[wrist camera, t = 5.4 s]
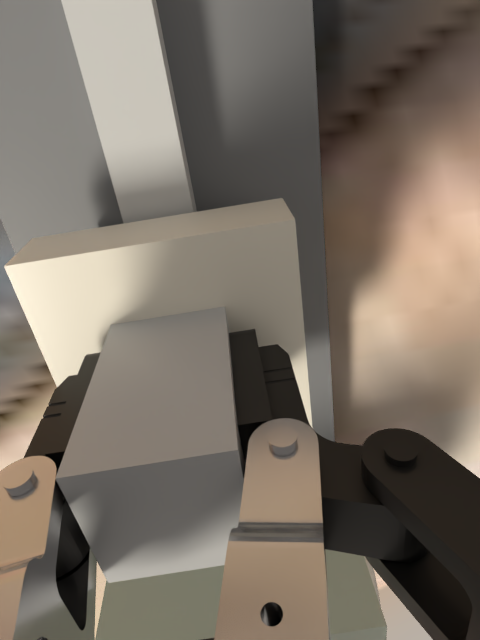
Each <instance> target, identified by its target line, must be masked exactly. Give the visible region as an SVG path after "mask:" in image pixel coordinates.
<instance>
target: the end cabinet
mask: <svg viewBox="0 0 480 640" xmlns="http://www.w3.org/2000/svg"><path fill="white" fill-rule="evenodd" d="M325 550H326V567H327V584H328V602H329V619H330V635H331V640H386V632H387V625H386V622H385V619H384V616H383V613H382V610H381V606H380V599H379V593H378V588H377V583H376V578H375V573H374V569H373V567H372V566H371V565H370V563H369V562H368V561H367V559H366V557H365V556H360V555H355V554H349V553H344V552H338V551H333V550H327V549H325ZM224 566H225V565H222V566H215V567H209V568H202V569H196V570H189V571H183V572H177V573H170V574H164V575H157V576H151V577H144V578H138V579H131V580H125V581H118V582H112V583H108V581H106V586H105V591H104V597H103V602H102V607H101V613H100V618H99V623H98V628H97V634H96V639H95V640H201V639H208V638H214V637H215V630H216V623H217V615H218V608H219V601H220V594H221V587H222V580H223V573H224Z"/></svg>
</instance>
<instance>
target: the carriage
mask: <svg viewBox="0 0 480 640" xmlns="http://www.w3.org/2000/svg"><path fill="white" fill-rule="evenodd" d="M4 267H5V270H6V272H7V274H8V276H9V279H10V281H11V283H12V286H13V288H14V290H15V292H16V295H17V297H18V299H19V301H20V304H21V306H22V308H23V311H24V313H25V315H26V317H27V320H28V322H29V324H30V327H31V329H32V331H33V333H34V336H35V338H36V340H37V342H38V345H39V347H40V349H41V352H42V354H43V356H44V358H45V361H46V363H47V365H48V368H49V370H50V372H51V374H52V377H53V379H54V381H55V383H56V386H57V387H58V386H59V385H60V384H61V383H62V382H63V381H64V380H65V379H66V378H67V377H68V376H72V375H77V374H78V372H79V369H80V367H81V364H82V362H83V360H84V357H85V356H86V355H87V354H93V353H100V352H101V353H100V356H99V359H98V362H97V364H96V367H95V370H94V373H93V376H92V378H91V381H90V384H89V387H88V389H87V392H86V395H85V398H84V401H83V403H82V406H81V409H80V412H79V414H78V417H77V420H76V423H75V425H74V428H73V431H72V434H71V437H70V439H69V442H68V445H67V448H66V450H65V453H64V456H63V459H62V461H61V464H60V467H59V470H58V473H57V475H56V478H55V479H56V481H57V483H58V485H59V487H60V489H61V491H62V492H63V494H64V496H65V498H66V500H67V502H68V504H69V506H70V508H71V510H72V512H73V514H74V516H75V518H76V520H77V522H78V524H79V526H80V528H81V530H82V532H83V534H84V536H85V538H86V540H87V542H88V544H89V546H90V548H91V550H92V552H93V554H94V556H95V558H96V560H97V562H98V564H99V566H100V568H101V569H102V571H103V573H104V575H105V577H106V579H107V581H108V583H112V582H118V581H125V580H131V579H138V578H144V577H151V576H157V575H164V574H170V573H177V572H183V571H189V570H196V569H202V568H209V567H215V566H222V565H225V559H226V551H227V545H228V539H229V535H230V532H231V530H232V528H237V527H238V523H239V516H240V508H241V500H242V492H243V484H244V476H245V461H244V456H243V451H242V446H241V441H240V436H239V431H238V426H237V415H236V405H235V394H234V383H233V373H232V362H231V352H230V341H229V333H231V332H237V331H244V330H250V329H255V331H256V337H257V342H258V347H262V346H268V345H275V344H278V345H279V346H280V347H281V348H282V349H284V350H285V351H286V352H287V353H288V354H289V357H290V360H291V364H292V368H293V371H294V374H295V377H296V381H297V384H298V388H299V391H300V395H301V398H302V401H303V405H304V408H305V412H306V415H307V419H308V421H309V424H310V425H311V427H312V416H311V404H310V392H309V380H308V368H307V356H306V343H305V331H304V319H303V307H302V295H301V283H300V271H299V259H298V247H297V235H296V223H295V218H294V216H293V215H292V213H291V211H290V210H289V208H288V206H287V205H286V203H285V201H284V200H283V198H278V199H272V200H266V201H260V202H253V203H247V204H241V205H235V206H229V207H222V208H216V209H210V210H204V211H198V212H192V213H185V214H179V215H173V216H167V217H161V218H155V219H148V220H142V221H136V222H130V223H124V224H118V225H111V226H105V227H99V228H93V229H87V230H81V231H74V232H68V233H62V234H56V235H50V236H43V237H37V238H32V239H31V240H30V241H29V242H28V243H27V244H26V245H25V246H24V247H23V248H22V249H21V250H20V251H19V252H18V253H17V254H16V255H15V256H14V257H13V258H12V259H11V260H10V261H9V262H8V263H7V264H6V265H5V266H4Z"/></svg>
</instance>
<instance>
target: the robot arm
mask: <svg viewBox="0 0 480 640" xmlns="http://www.w3.org/2000/svg"><path fill="white" fill-rule="evenodd" d="M229 341H230V352H231V362H232V373H233V383H234V394H235V405H236V415H237V426H238V431H239V436H240V441H241V446H242V451H243V456H244V461H245V476H244V484H243V492H242V500H241V508H240V516H239V523H238V527H237V528H232V530H231V532H230V535H229V539H228V545H227V551H226V559H225V566H224V573H223V580H222V587H221V594H220V601H219V608H218V615H217V623H216V630H215V637H214V638H208V639H201V640H331V635H330V619H329V602H328V584H327V567H326V550H325V549H327V550H333V551H338V552H344V553H349V554H355V555H360V556H365V557H366V559H367V561H368V562H369V563H370V565H371V566H372V567H373V568H374V569H375V571H376V572H377V573H378V574H379V575H380V577H381V578H382V579H383V580H384V581H385V583H386V584H387V585H388V586H389V587H390V589H391V590H392V591H393V592H394V593H395V594H396V596H397V597H398V598H399V599H400V601H401V602H402V603H403V604H404V605H405V606H406V608H407V609H408V610H409V611H410V612H411V614H412V615H413V616H414V617H415V619H416V620H417V621H418V622H419V623H420V624H421V626H422V627H423V628H424V629H425V630H426V632H427V633H428V634H429V635H430V636H431V638H432V639H433V640H480V478H478V477H477V476H476V475H474V474H473V473H472V472H470V471H469V470H468V469H466V468H465V467H464V466H462V465H461V464H460V463H459V462H457V461H456V460H455V459H453V458H452V457H451V456H449V455H448V454H447V453H445V452H444V451H443V450H441V449H440V448H439V447H437V446H436V445H435V444H434V443H432V442H431V441H430V440H428V439H427V438H425V437H424V436H422V435H420V434H418V433H416V432H413V431H410V430H405V429H384V430H381V431H378V432H376V433H374V434H372V435H371V436H369V437H368V438H367V439H366V441H365V442H364V444H363V446H359V445H350V444H342V443H337V442H333V441H330V440H328V439H326V438H324V437H322V436H320V435H319V434H318V433H316V432H315V431H314V429H313V428H312V427H311V425H310V424H309V421H308V419H307V415H306V412H305V408H304V405H303V401H302V398H301V395H300V391H299V388H298V384H297V381H296V377H295V374H294V371H293V368H292V364H291V360H290V357H289V354H288V353H287V352H286V351H285V350H284V349H282V348H281V347H280V346H279V345H278V344H275V345H268V346H262V347H258V342H257V337H256V331H255V329H250V330H244V331H237V332H231V333H229ZM100 353H101V352H100ZM100 353H93V354H87V355H86V356H85V357H84V360H83V362H82V364H81V367H80V369H79V372H78V374H77V375H72V376H68V377H67V378H66V379H65V380H64V381H63V382H62V383H61V384H60V385H59V386H58V387H57V388H56V389H55V391H54V393H53V395H52V398H51V400H50V402H49V407H47V408H46V411H45V413H44V415H43V419H41V421H40V424H39V426H38V428H37V430H36V432H35V434H34V437H33V439H32V441H31V443H30V445H29V448H28V450H27V452H26V454H25V456H24V458H23V459H20V460H18V461H16V462H14V463H12V464H10V465H8V466H7V467H6V468H4V469H3V470H1V471H0V640H94V627H95V596H96V565H97V560H96V558H95V556H94V554H93V552H92V550H91V548H90V546H89V544H88V542H87V540H86V538H85V536H84V534H83V532H82V530H81V528H80V526H79V524H78V522H77V520H76V518H75V516H74V514H73V512H72V510H71V508H70V506H69V504H68V502H67V500H66V498H65V496H64V494H63V492H62V491H61V489H60V487H59V485H58V483H57V481H56V479H55V478H56V475H57V473H58V470H59V467H60V464H61V461H62V459H63V456H64V453H65V450H66V448H67V445H68V442H69V439H70V437H71V434H72V431H73V428H74V425H75V423H76V420H77V417H78V414H79V412H80V409H81V406H82V403H83V401H84V398H85V395H86V392H87V389H88V387H89V384H90V381H91V378H92V376H93V373H94V370H95V367H96V364H97V362H98V359H99V356H100Z"/></svg>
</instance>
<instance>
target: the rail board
mask: <svg viewBox="0 0 480 640" xmlns="http://www.w3.org/2000/svg"><path fill="white" fill-rule="evenodd" d="M278 198H283V200H284V201H285V203H286V205H287V206H288V208H289V210H290V211H291V213H292V215H293V216H294V218H295V223H296V235H297V247H298V259H299V271H300V283H301V295H302V307H303V319H304V331H305V343H306V356H307V368H308V380H309V392H310V404H311V416H312V428H313V429H314V431H315V432H316V433H318V434H319V435H320V436H322V437H324V438H326V439H328V440H330V441H333V442H335V436H334V416H333V397H332V377H331V357H330V337H329V317H328V298H327V278H326V258H325V238H324V219H323V199H322V179H321V159H320V140H319V120H318V100H317V80H316V61H315V41H314V21H313V1H312V0H0V219H1V221H2V223H3V226H4V228H5V230H6V233H7V235H8V238H9V240H10V242H11V245H12V247H13V250H14V252H15V254H17V253H18V252H19V251H20V250H21V249H22V248H23V247H24V246H25V245H26V244H27V243H28V242H29V241H30V240H31V239H32V238H37V237H43V236H50V235H56V234H62V233H68V232H74V231H81V230H87V229H93V228H99V227H105V226H111V225H118V224H124V223H130V222H136V221H142V220H148V219H155V218H161V217H167V216H173V215H179V214H185V213H192V212H198V211H204V210H210V209H216V208H222V207H229V206H235V205H241V204H247V203H253V202H260V201H266V200H272V199H278Z"/></svg>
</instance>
